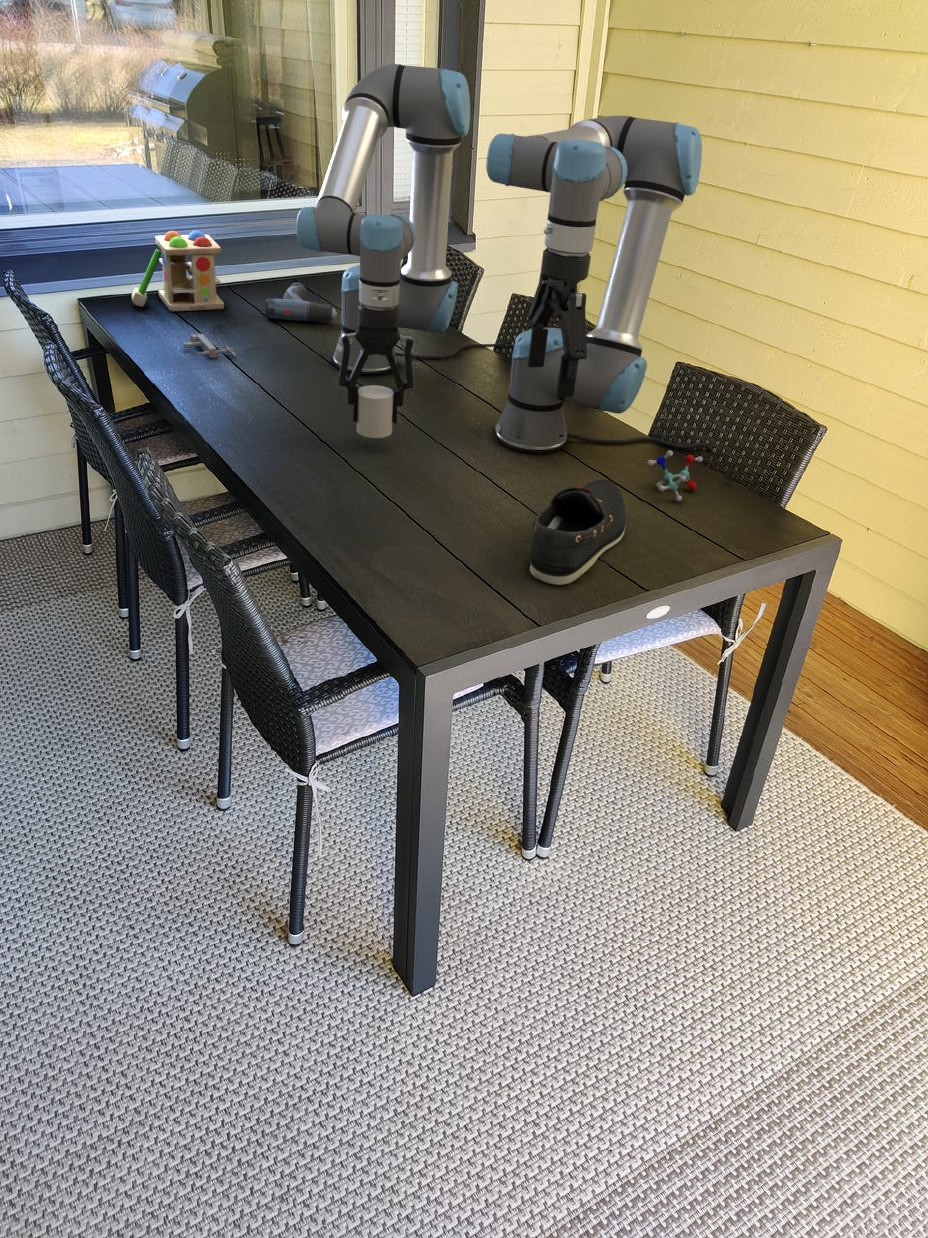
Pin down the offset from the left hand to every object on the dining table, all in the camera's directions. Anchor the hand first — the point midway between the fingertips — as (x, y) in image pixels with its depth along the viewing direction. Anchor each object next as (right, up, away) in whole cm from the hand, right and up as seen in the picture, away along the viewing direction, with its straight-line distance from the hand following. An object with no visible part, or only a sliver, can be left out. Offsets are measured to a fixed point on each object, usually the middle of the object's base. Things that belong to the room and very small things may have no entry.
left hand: (374, 419), depth 196 cm
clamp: (-44, +24, +40) cm, 64 cm away
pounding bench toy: (-60, +45, +68) cm, 101 cm away
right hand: (+32, 0, -31) cm, 45 cm away
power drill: (-25, +43, +71) cm, 87 cm away
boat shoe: (+38, -26, -22) cm, 51 cm away
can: (0, -2, +1) cm, 2 cm away
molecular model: (+59, -15, -2) cm, 60 cm away
